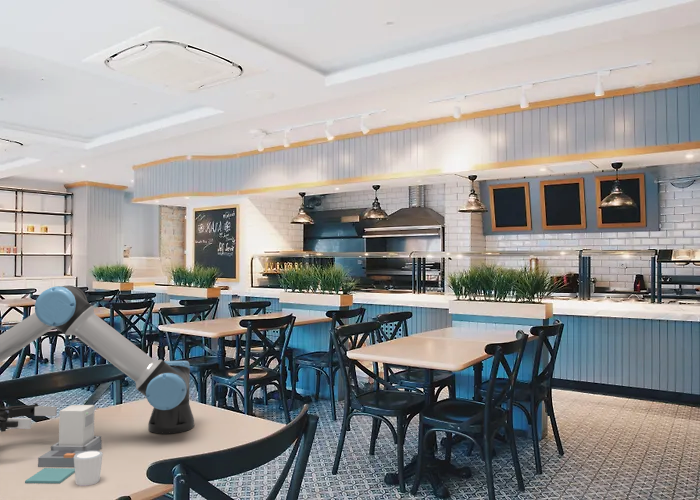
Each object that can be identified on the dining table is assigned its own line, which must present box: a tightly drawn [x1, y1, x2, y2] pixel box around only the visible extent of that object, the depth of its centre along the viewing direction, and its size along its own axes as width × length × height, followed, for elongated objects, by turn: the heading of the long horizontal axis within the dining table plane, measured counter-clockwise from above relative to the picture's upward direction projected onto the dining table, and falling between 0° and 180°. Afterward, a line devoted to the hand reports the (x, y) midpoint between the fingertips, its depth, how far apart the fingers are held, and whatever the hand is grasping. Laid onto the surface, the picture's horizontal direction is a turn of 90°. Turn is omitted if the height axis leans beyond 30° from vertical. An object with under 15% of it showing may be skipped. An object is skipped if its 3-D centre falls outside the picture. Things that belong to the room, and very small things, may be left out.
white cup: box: [73, 450, 104, 487], centre depth 143 cm, size 7×7×7 cm
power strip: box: [37, 435, 103, 468], centre depth 166 cm, size 10×24×4 cm, turn 0°
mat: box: [24, 467, 75, 484], centre depth 146 cm, size 9×9×1 cm
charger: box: [58, 404, 96, 446], centre depth 165 cm, size 8×7×11 cm
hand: (44, 417), depth 165 cm, fingers open, 13 cm apart
